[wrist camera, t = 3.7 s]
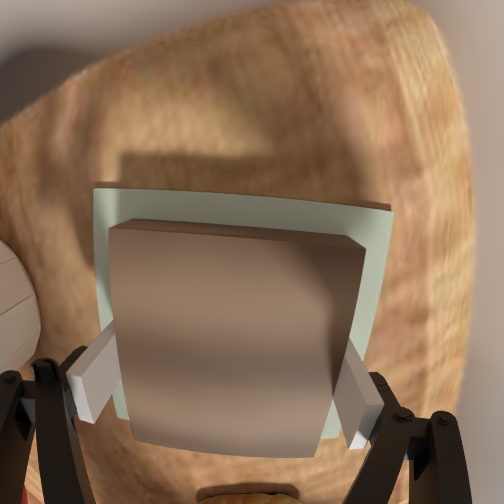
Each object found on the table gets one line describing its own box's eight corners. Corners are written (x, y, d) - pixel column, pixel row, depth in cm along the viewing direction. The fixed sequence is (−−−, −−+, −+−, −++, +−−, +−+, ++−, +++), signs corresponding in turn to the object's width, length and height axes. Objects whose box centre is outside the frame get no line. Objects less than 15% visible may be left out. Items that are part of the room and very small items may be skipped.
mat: (336, 435, 19) (337, 438, 19) (118, 415, 19) (117, 417, 19) (391, 211, 15) (394, 211, 15) (96, 188, 15) (93, 188, 15)
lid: (307, 425, 18) (313, 457, 16) (146, 410, 18) (134, 440, 15) (346, 235, 15) (366, 248, 12) (133, 218, 15) (108, 228, 12)
